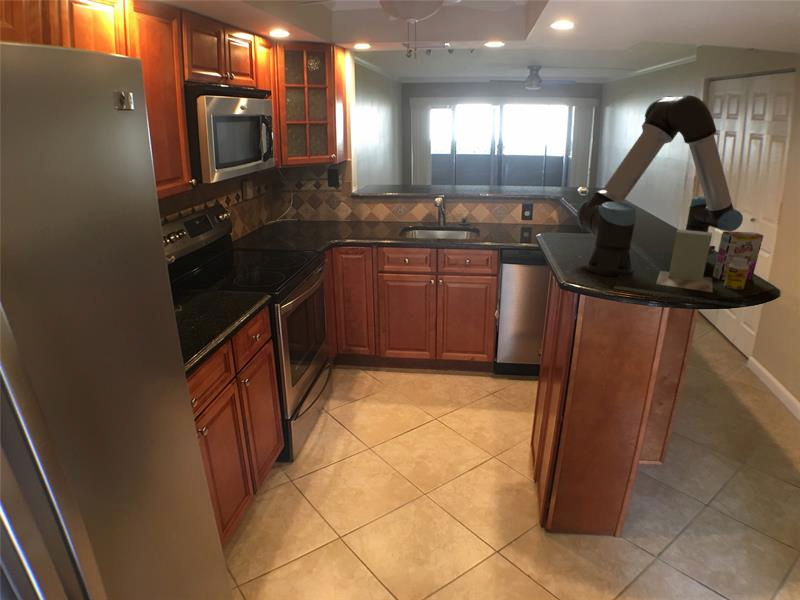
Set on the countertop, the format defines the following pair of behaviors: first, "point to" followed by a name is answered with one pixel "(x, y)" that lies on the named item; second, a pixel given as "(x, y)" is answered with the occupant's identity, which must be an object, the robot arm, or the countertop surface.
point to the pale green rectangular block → (690, 255)
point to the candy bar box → (737, 251)
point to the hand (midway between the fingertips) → (693, 257)
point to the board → (685, 282)
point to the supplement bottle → (736, 274)
